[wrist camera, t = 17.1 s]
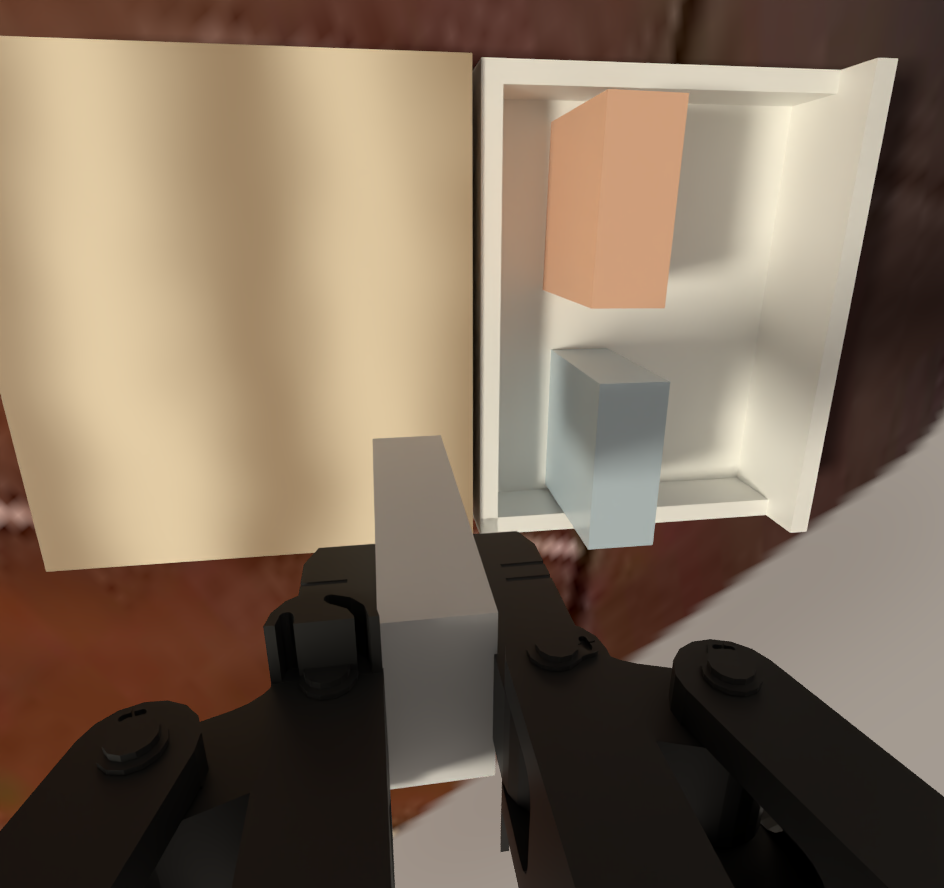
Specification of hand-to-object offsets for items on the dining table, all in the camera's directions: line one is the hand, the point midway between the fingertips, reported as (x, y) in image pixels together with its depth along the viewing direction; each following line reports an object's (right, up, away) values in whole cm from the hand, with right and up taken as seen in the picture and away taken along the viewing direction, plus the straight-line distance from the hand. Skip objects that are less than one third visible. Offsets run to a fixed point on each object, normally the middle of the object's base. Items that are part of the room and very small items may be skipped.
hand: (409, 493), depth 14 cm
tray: (+7, +6, +8) cm, 12 cm away
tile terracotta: (+4, +8, +4) cm, 9 cm away
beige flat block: (-5, +5, +6) cm, 10 cm away
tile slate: (+4, +1, +6) cm, 7 cm away
